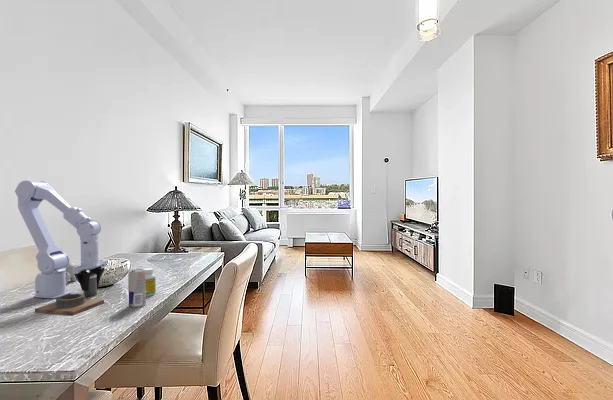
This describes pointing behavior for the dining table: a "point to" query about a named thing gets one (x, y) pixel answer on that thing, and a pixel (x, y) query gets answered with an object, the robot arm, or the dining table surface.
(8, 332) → the dining table surface
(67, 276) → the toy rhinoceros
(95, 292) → the lens
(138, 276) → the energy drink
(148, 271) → the supplement bottle
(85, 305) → the mount
